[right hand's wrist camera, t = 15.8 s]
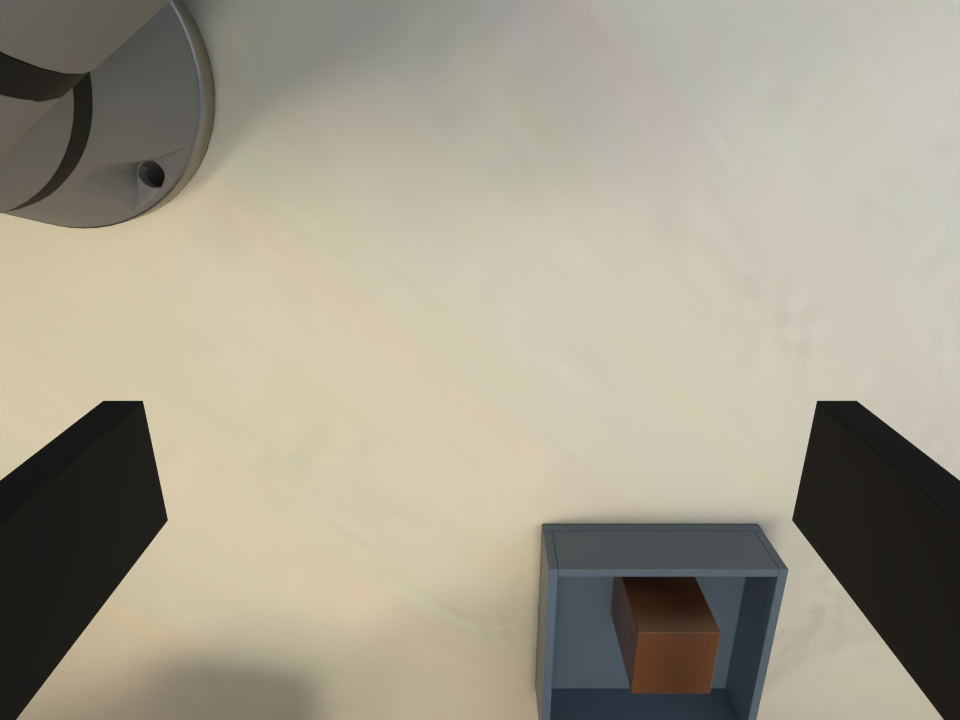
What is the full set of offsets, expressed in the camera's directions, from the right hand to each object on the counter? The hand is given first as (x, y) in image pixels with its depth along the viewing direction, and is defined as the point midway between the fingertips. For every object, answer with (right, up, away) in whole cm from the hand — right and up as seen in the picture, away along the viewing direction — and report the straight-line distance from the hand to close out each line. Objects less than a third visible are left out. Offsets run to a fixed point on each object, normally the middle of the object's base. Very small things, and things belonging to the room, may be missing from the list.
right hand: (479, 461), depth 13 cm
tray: (+12, -21, +37) cm, 44 cm away
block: (+12, -14, +33) cm, 38 cm away
